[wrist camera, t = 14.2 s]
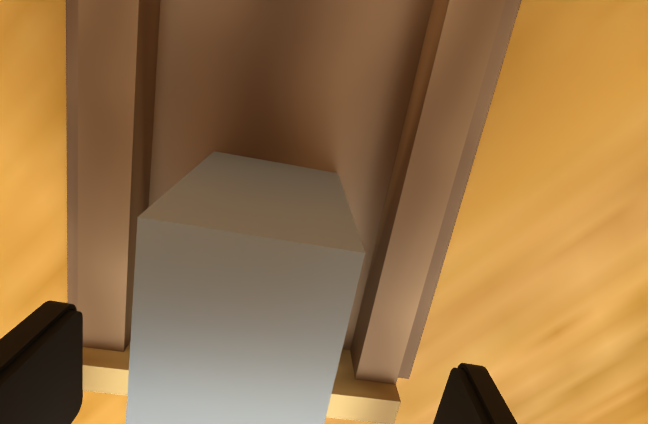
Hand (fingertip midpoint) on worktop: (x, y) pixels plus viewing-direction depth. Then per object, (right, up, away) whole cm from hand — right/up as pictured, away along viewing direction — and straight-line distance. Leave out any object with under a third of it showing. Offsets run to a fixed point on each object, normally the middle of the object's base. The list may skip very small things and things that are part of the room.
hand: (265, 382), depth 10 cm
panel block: (-1, +3, +7) cm, 8 cm away
